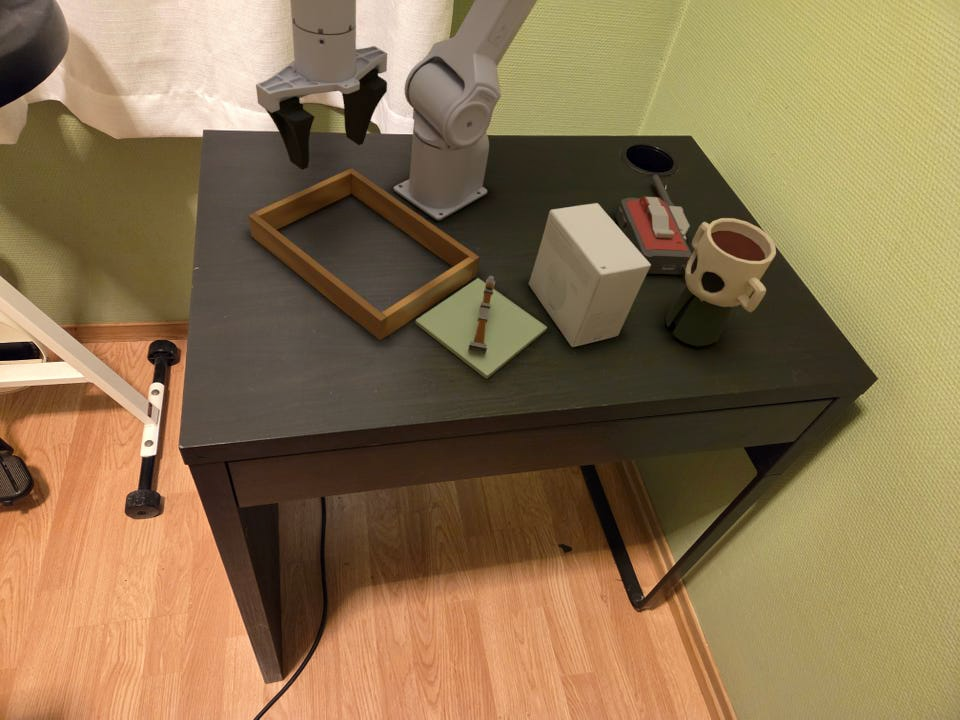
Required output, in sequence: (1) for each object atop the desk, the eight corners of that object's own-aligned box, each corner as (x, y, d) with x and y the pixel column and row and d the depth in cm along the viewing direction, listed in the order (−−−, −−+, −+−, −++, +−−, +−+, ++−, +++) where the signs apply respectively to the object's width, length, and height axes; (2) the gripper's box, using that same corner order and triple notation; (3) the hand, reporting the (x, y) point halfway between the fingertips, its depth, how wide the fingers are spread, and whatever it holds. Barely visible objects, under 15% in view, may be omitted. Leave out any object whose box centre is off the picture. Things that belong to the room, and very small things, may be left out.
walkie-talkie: (705, 283, 81) (658, 184, 93) (721, 255, 78) (669, 157, 90) (638, 281, 79) (599, 181, 92) (650, 253, 76) (608, 153, 88)
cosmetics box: (621, 336, 73) (654, 263, 65) (571, 349, 70) (599, 276, 62) (574, 273, 78) (599, 199, 71) (526, 283, 76) (547, 208, 68)
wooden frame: (351, 188, 83) (351, 167, 80) (475, 277, 75) (479, 257, 73) (251, 236, 74) (247, 215, 72) (379, 341, 67) (380, 320, 65)
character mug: (640, 300, 77) (682, 209, 67) (690, 291, 79) (738, 202, 70) (690, 371, 71) (745, 282, 61) (743, 359, 73) (804, 271, 63)
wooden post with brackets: (496, 291, 72) (501, 274, 68) (483, 360, 70) (487, 347, 65) (479, 288, 72) (483, 270, 68) (466, 357, 70) (469, 344, 65)
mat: (477, 281, 75) (478, 277, 75) (546, 330, 72) (547, 327, 71) (414, 323, 69) (415, 319, 69) (486, 379, 66) (487, 375, 65)
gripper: (287, 59, 55) (297, 195, 65) (411, 20, 63) (403, 146, 73) (235, 25, 58) (252, 161, 68) (361, -8, 66) (359, 118, 76)
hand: (327, 151), depth 71 cm, fingers open, 7 cm apart
